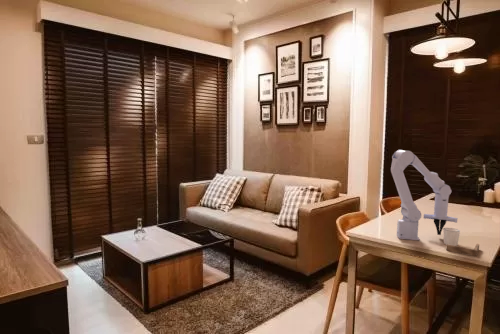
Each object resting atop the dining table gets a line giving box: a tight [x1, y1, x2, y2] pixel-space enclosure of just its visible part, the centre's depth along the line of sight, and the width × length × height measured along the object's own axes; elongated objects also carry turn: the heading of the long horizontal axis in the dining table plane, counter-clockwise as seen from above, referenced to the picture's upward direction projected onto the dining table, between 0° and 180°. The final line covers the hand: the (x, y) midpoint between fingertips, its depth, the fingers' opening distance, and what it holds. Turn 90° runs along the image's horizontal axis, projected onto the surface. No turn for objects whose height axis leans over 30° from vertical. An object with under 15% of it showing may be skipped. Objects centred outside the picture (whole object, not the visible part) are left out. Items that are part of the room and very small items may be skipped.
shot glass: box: [442, 227, 461, 246], centre depth 159 cm, size 7×7×7 cm
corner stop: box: [446, 243, 480, 257], centre depth 147 cm, size 9×16×2 cm, turn 95°
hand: (439, 234), depth 167 cm, fingers closed
